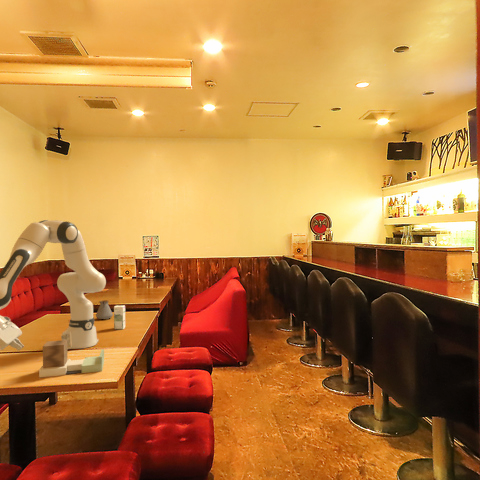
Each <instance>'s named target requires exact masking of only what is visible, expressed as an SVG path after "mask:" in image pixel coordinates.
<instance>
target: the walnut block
mask: <svg viewBox="0 0 480 480" xmlns="http://www.w3.org/2000/svg"><path fill="white" fill-rule="evenodd" d="M67 359H68V349H67V340H62V339H61V340H52V341H51V340H50V341H46V342H45V343H44V344H43V346H42V366H43V368H51V367H62V366H65V364H66V362H67Z"/></svg>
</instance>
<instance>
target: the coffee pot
mask: <svg viewBox="0 0 480 480" xmlns="http://www.w3.org/2000/svg"><path fill="white" fill-rule="evenodd" d="M109 302H110V300H106V299H105V300H99V301H98V303H99V307H98V309H97V312H96V314H95V317H96V319H98V320H99V319H107V320H110V319H111V318H112V317H113V316H114V313H113V311H112V310H111V308H110V306H109ZM109 318H110V319H109Z"/></svg>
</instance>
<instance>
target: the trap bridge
mask: <svg viewBox="0 0 480 480" xmlns="http://www.w3.org/2000/svg"><path fill="white" fill-rule="evenodd" d="M104 365H105V349H100V353H99V356H88V357H84V358H83V359H82V358H81V359H71V358H67V362H66V364H65V366H62V367H51V368H43V365H42V366H41V367H40V368H39V370H38V378H48V377H58V376H68V375H76V374H77V373H79V374H87V373H98V372H102V371H103V369H104Z"/></svg>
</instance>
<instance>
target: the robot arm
mask: <svg viewBox="0 0 480 480" xmlns="http://www.w3.org/2000/svg"><path fill="white" fill-rule="evenodd" d="M82 235H83V234H82V232H81V231H80V230H79V228H77V226H76V225H75V224H74V223H73V222H70V221H65V220H64V221H63V220H56V219H55V220H54V219H53V220H49V219H47V220H46V219H45V220H40V221H38V222H36V221H35V222H34V221H33V222H31V223H30V224H29V225H28V226H27V227H26V228H25V229H24V230H23V231H22V233H21V234H20V235H19V237H18V238H17V240H16V241H15V243H14V245H13V247H12V250H11V252H10V256H9V258H8V261H7V262H6V263H5V264H4V266H3V268H2V270H1V271H0V311H1V310H2V309H4V308H6V307H7V306H8V305H9V304H10V302H11V300H12V295H13V286H14V284H15V282H16V281H17V278H18V277H19V275H20V274H21V273H22V271H23V270H24V268H25V267H26V266H28V265H30V264H33V263H34V262H35V261H36V260H37V259H38V257H39V256H40V255H41V254H42V252H43V251H44V248H45V246H46V244H47V243H51V244H52V243H53V244H61V250H62V254H63V260H64V264H65V265H66V266H67V268H69V269H70V270H73V272H72V271H71V272H66V273H62V274H60V275H59V276H58V278H57V281H56V284H57V288H58V290H59V291H60V292H62V294H64V295H65V297H66V298H67V300H68V303H69V307H70V309H69V310H70V319H69V320H67V321H68V326H67V328H66V329H65V330H64V331H63V332H62V333H61V336H60V338H61V340H67V350H73V349H74V350H75V349H77V350H78V349H86V348H90V347H93V346H96V345H97V344H98V342H100V341H99V340H100V339H99V338H98V337H97V336H98V335H97V327H96V326H95V318H94V304H93V302H92V301H91V300H89V299H88V298H87V297H86V295H85V294H90V293H91V294H94V293H99V292H102V291H104V289H105V287H106V284H107V280H106V277H105V275H104V274H103V273H101V272H99V271H98V270H97V269H96V268H95V267H94V266H93V265H92V263H91V261H90V259H89V257H88V251H87V248H86V244H85V240H84V238H83V236H82ZM22 334H23V332H22V329H20V328H19V327H18V326H17V325H16V324H15V323H13V322H12V321H11V318H10V317H8V316H3V315H1V314H0V351H3V350H5V349H6V348H7V347H8V346H10V347H11V348H14V349H16V350H17V351H21V350H22V349H23V348H24V347H25V345H24V344H23V343H22V342H21V340H20V339H19V337H20V336H22Z"/></svg>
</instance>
